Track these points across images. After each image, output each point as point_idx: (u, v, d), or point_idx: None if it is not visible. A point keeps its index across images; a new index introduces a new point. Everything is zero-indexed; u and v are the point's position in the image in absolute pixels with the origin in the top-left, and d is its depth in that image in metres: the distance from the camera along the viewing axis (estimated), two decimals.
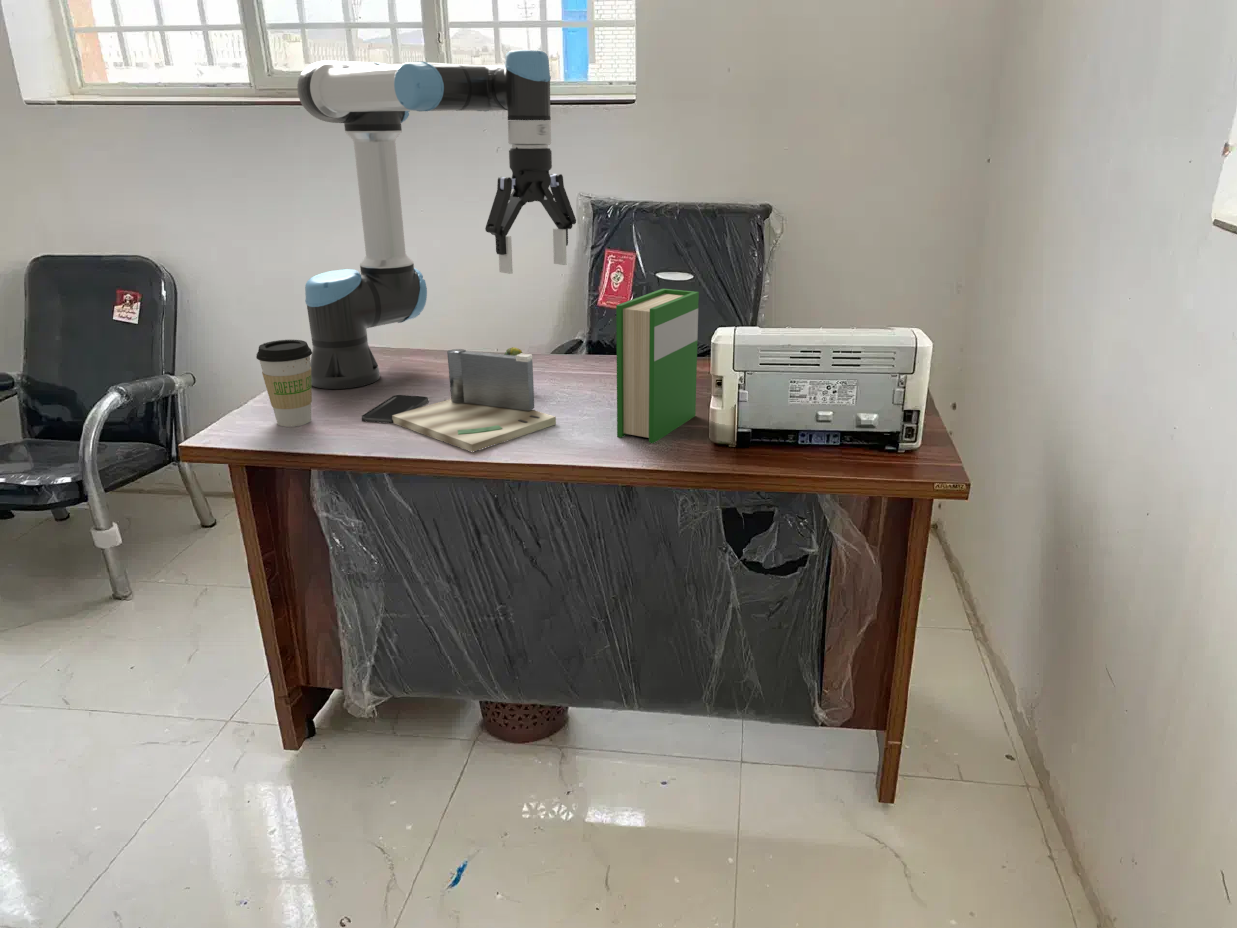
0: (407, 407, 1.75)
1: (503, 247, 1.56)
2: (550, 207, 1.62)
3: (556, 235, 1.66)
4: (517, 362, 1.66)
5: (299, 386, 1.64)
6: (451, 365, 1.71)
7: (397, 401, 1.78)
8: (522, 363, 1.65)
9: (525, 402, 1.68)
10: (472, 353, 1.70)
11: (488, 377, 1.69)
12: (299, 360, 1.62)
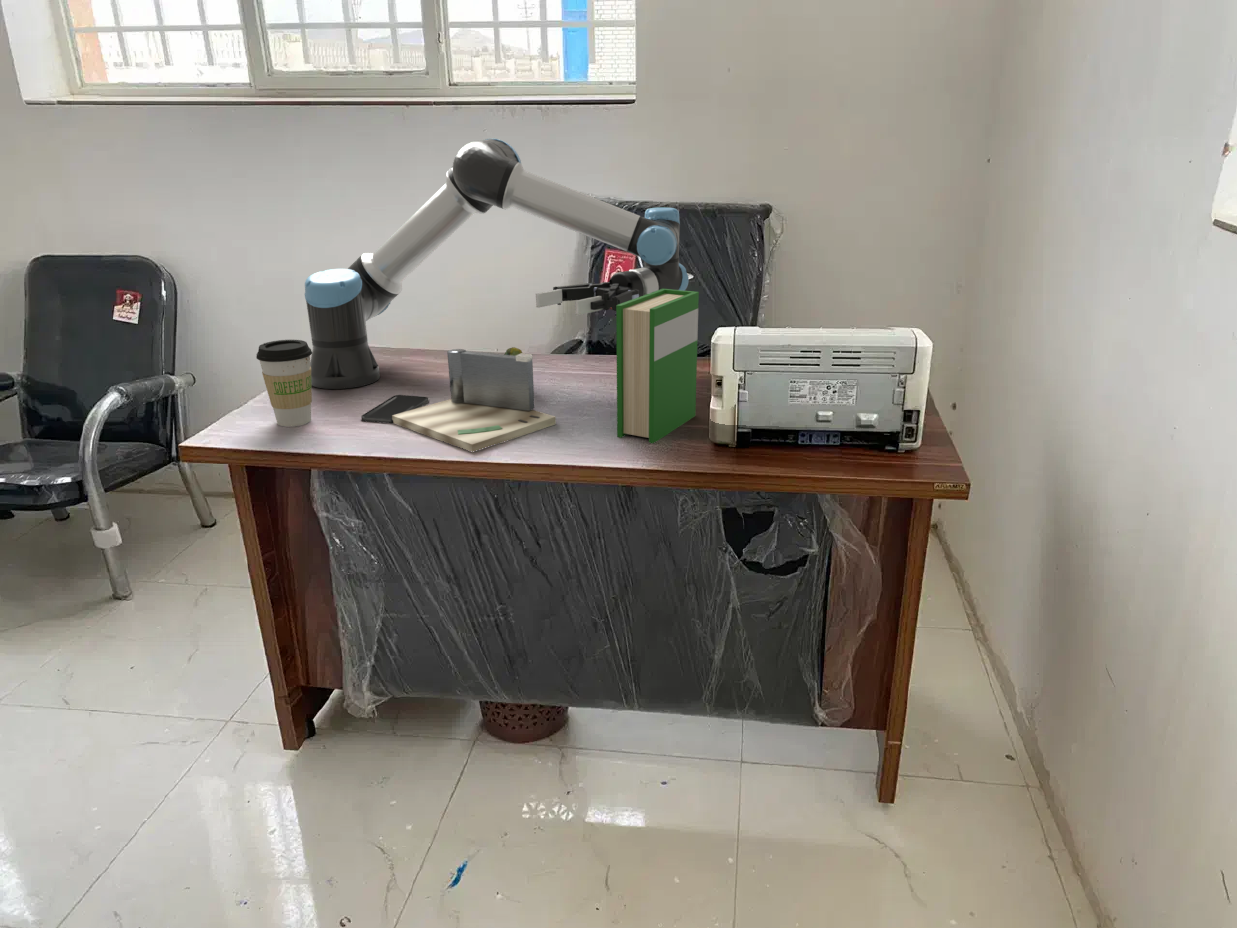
0: (407, 407, 1.75)
1: None
2: (584, 297, 1.81)
3: (557, 294, 1.78)
4: (517, 362, 1.66)
5: (299, 386, 1.64)
6: (451, 365, 1.71)
7: (397, 401, 1.78)
8: (522, 363, 1.65)
9: (525, 402, 1.68)
10: (472, 353, 1.70)
11: (488, 377, 1.69)
12: (299, 360, 1.62)
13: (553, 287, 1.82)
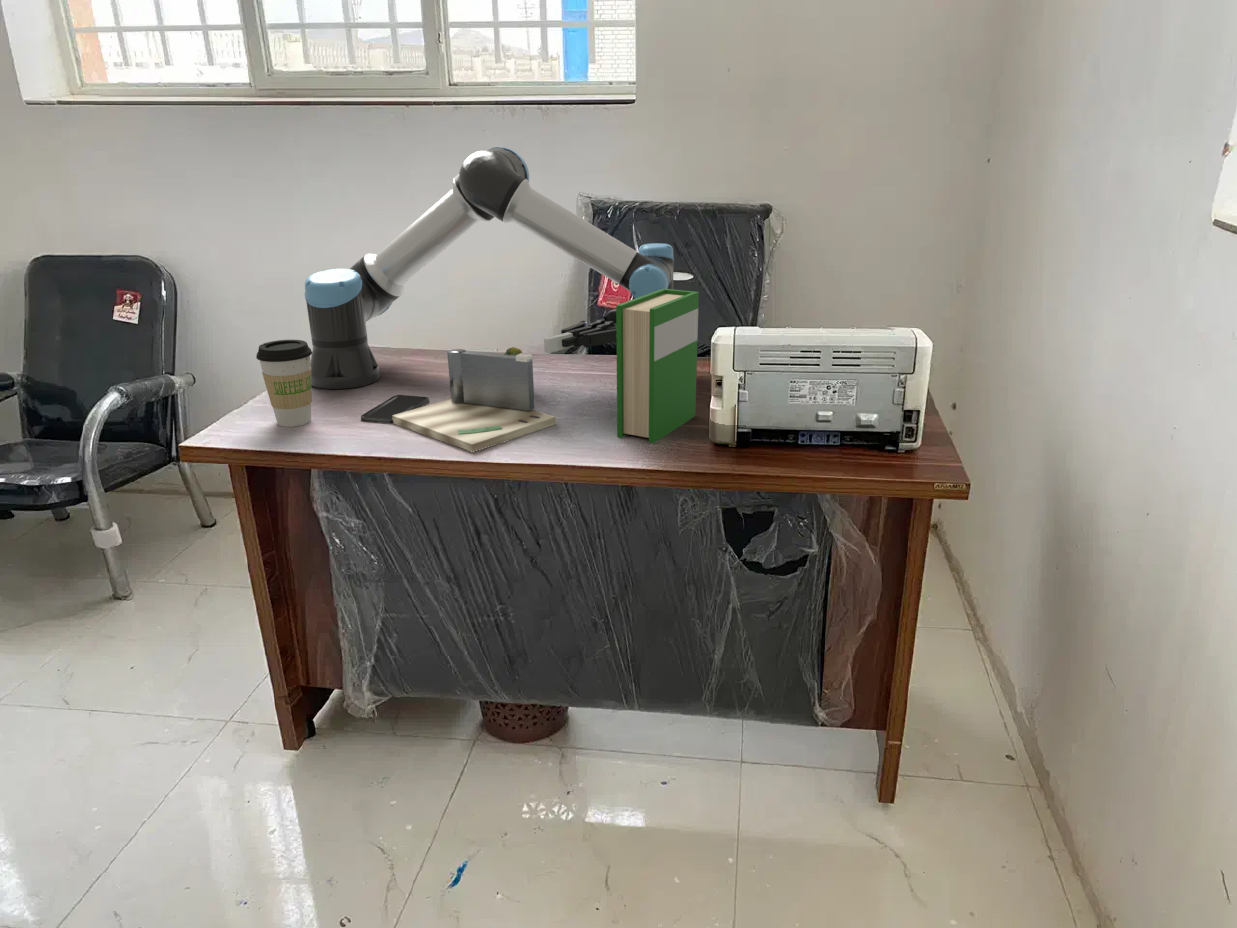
0: (407, 407, 1.75)
1: None
2: None
3: None
4: (517, 362, 1.66)
5: (299, 386, 1.64)
6: (451, 365, 1.71)
7: (397, 401, 1.78)
8: (522, 363, 1.65)
9: (525, 402, 1.68)
10: (472, 353, 1.70)
11: (488, 377, 1.69)
12: (299, 360, 1.62)
13: (561, 330, 1.78)
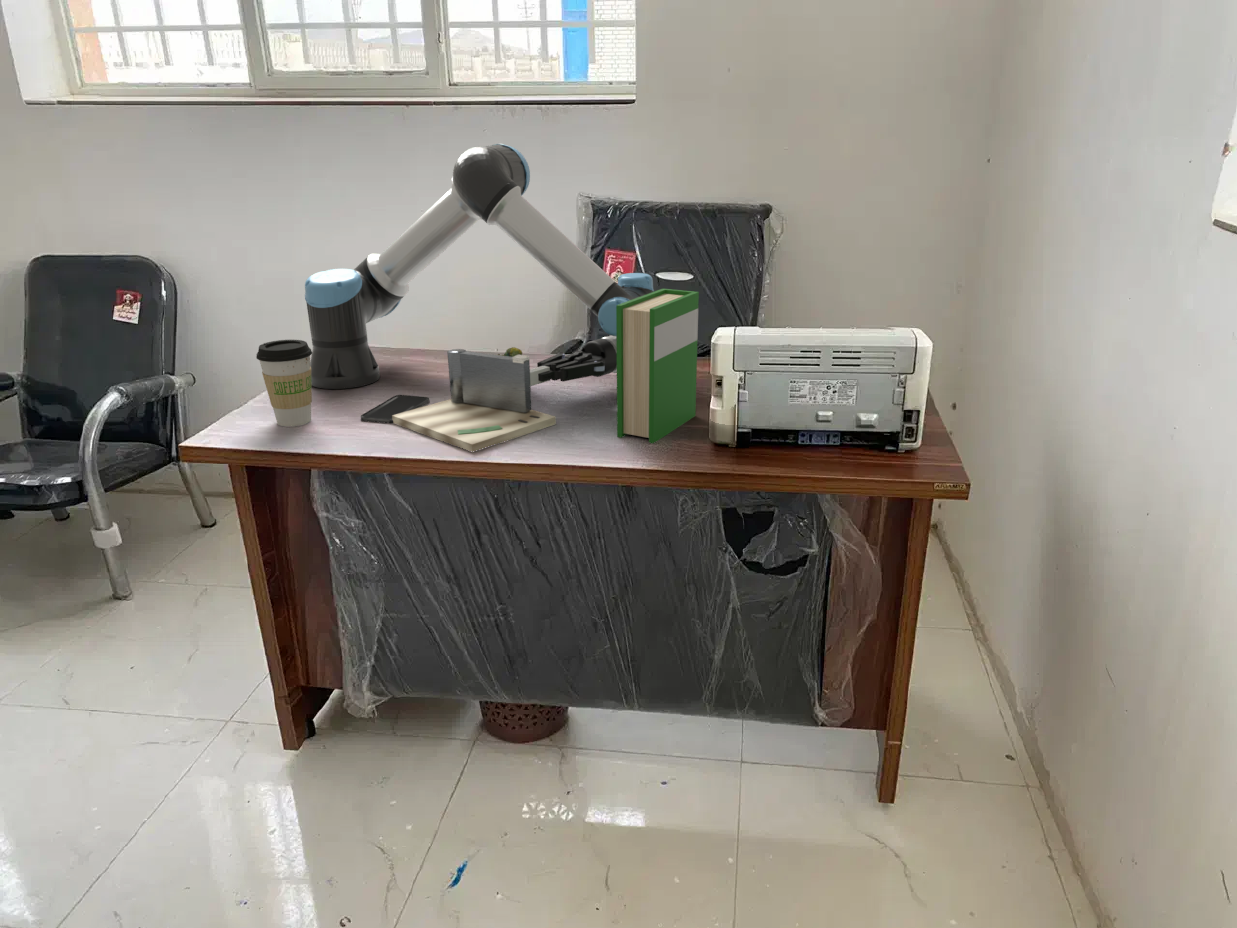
0: (407, 407, 1.75)
1: None
2: None
3: None
4: (514, 364, 1.65)
5: (299, 386, 1.64)
6: (451, 365, 1.71)
7: (398, 401, 1.78)
8: (518, 364, 1.64)
9: (522, 403, 1.67)
10: (471, 353, 1.69)
11: (486, 378, 1.69)
12: (299, 360, 1.62)
13: (537, 363, 1.75)
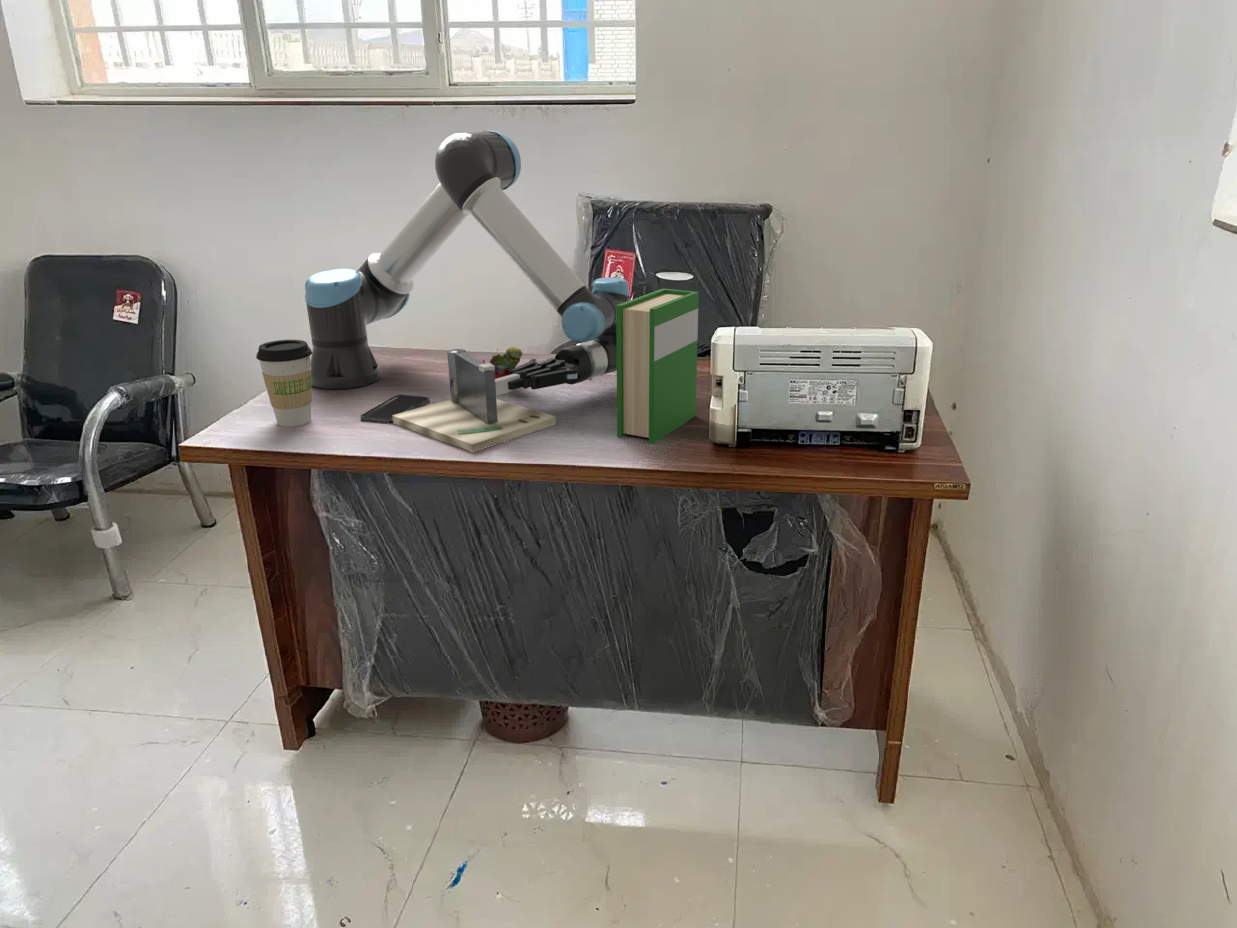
0: (407, 407, 1.75)
1: None
2: None
3: None
4: (479, 371, 1.60)
5: (299, 386, 1.64)
6: (448, 364, 1.71)
7: (398, 401, 1.78)
8: (481, 373, 1.59)
9: (485, 413, 1.62)
10: (461, 355, 1.68)
11: (467, 382, 1.66)
12: (299, 360, 1.62)
13: (509, 371, 1.70)
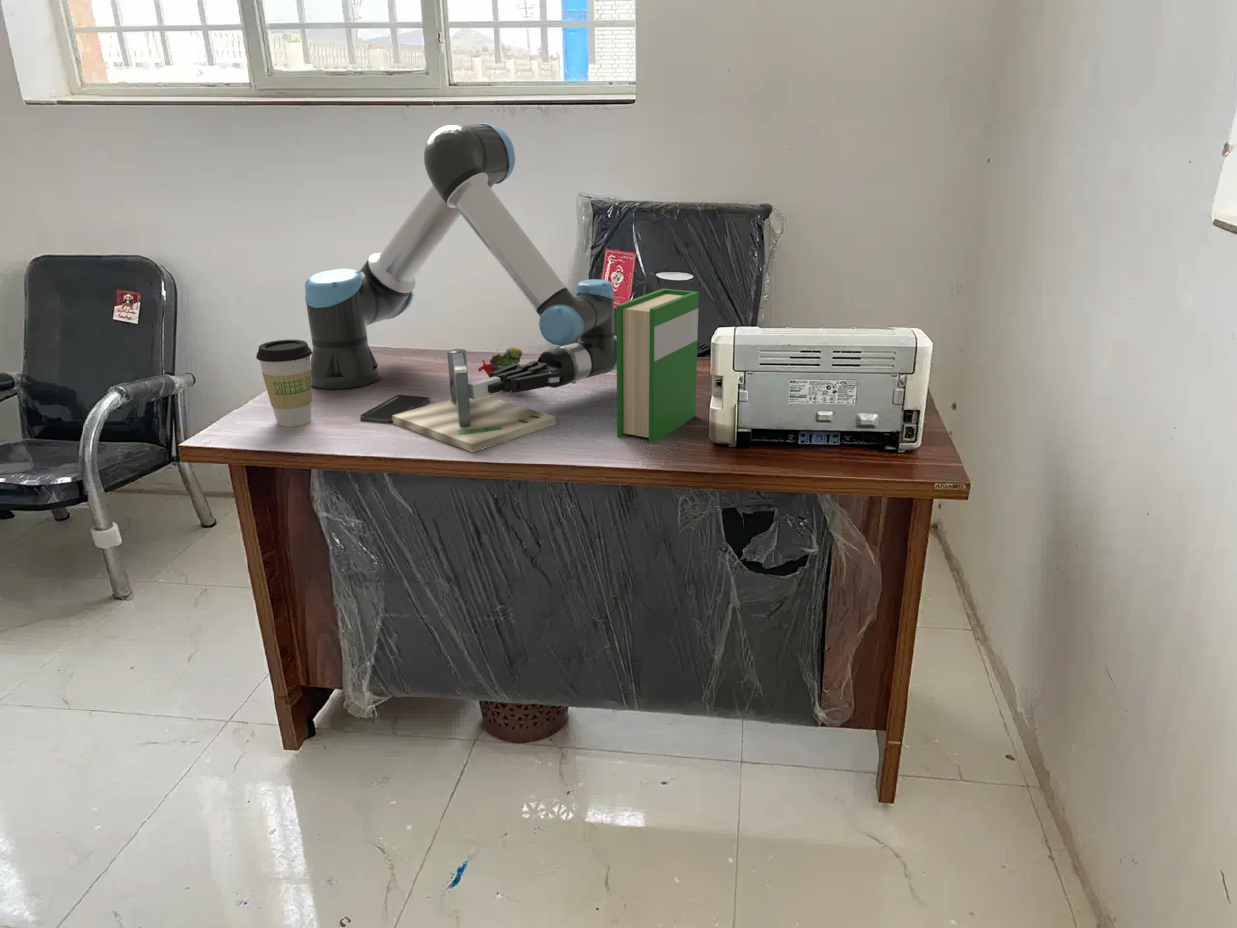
0: (407, 408, 1.75)
1: None
2: None
3: None
4: (455, 374, 1.59)
5: (299, 386, 1.64)
6: (448, 363, 1.72)
7: (398, 401, 1.78)
8: (455, 375, 1.58)
9: (458, 416, 1.60)
10: (455, 356, 1.68)
11: None
12: (299, 360, 1.62)
13: (489, 373, 1.68)
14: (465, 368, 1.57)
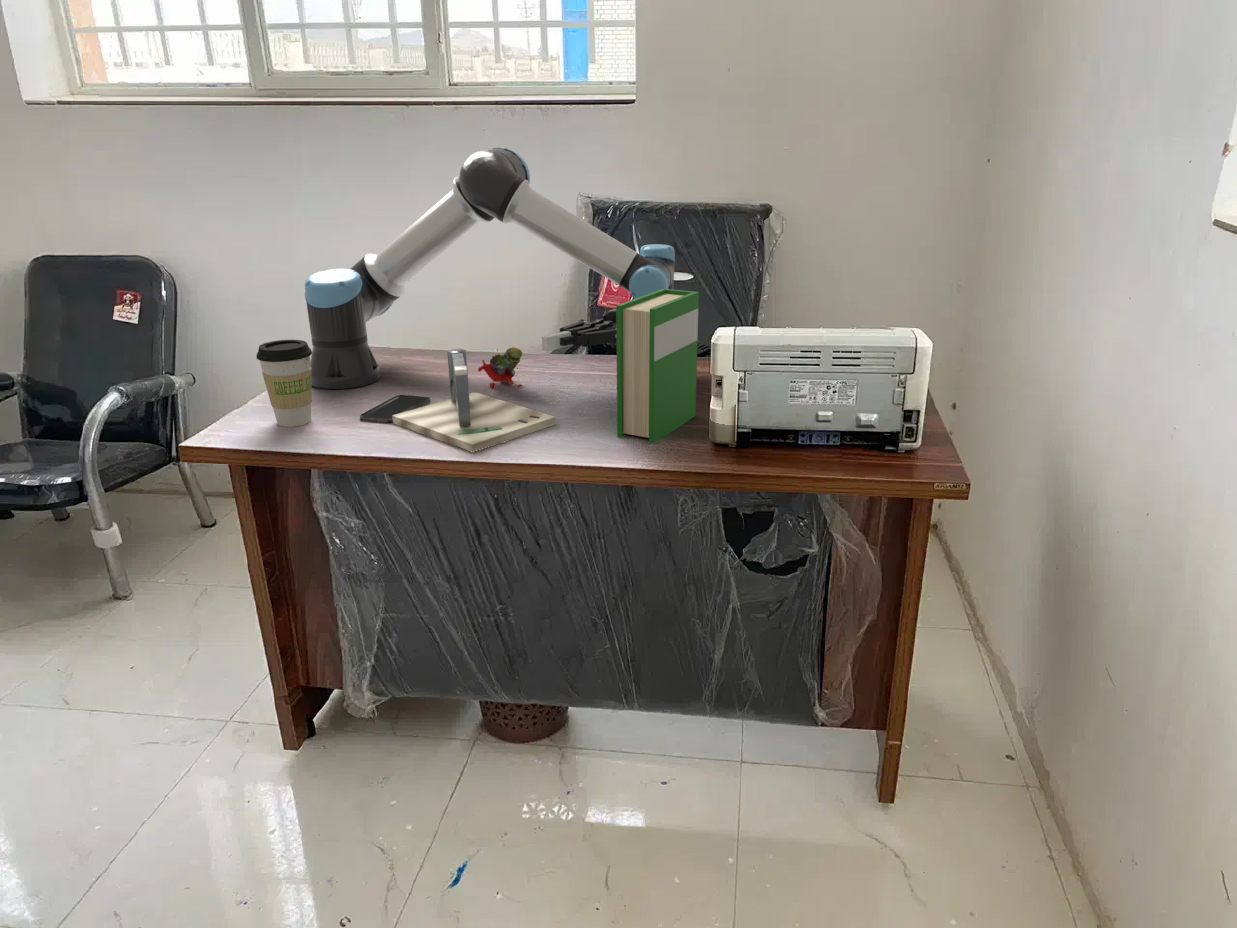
0: (407, 408, 1.75)
1: None
2: None
3: None
4: None
5: (299, 386, 1.64)
6: (448, 363, 1.72)
7: (398, 401, 1.78)
8: (455, 375, 1.58)
9: (458, 416, 1.60)
10: (455, 356, 1.68)
11: None
12: (299, 360, 1.62)
13: (560, 328, 1.78)
14: (465, 368, 1.57)
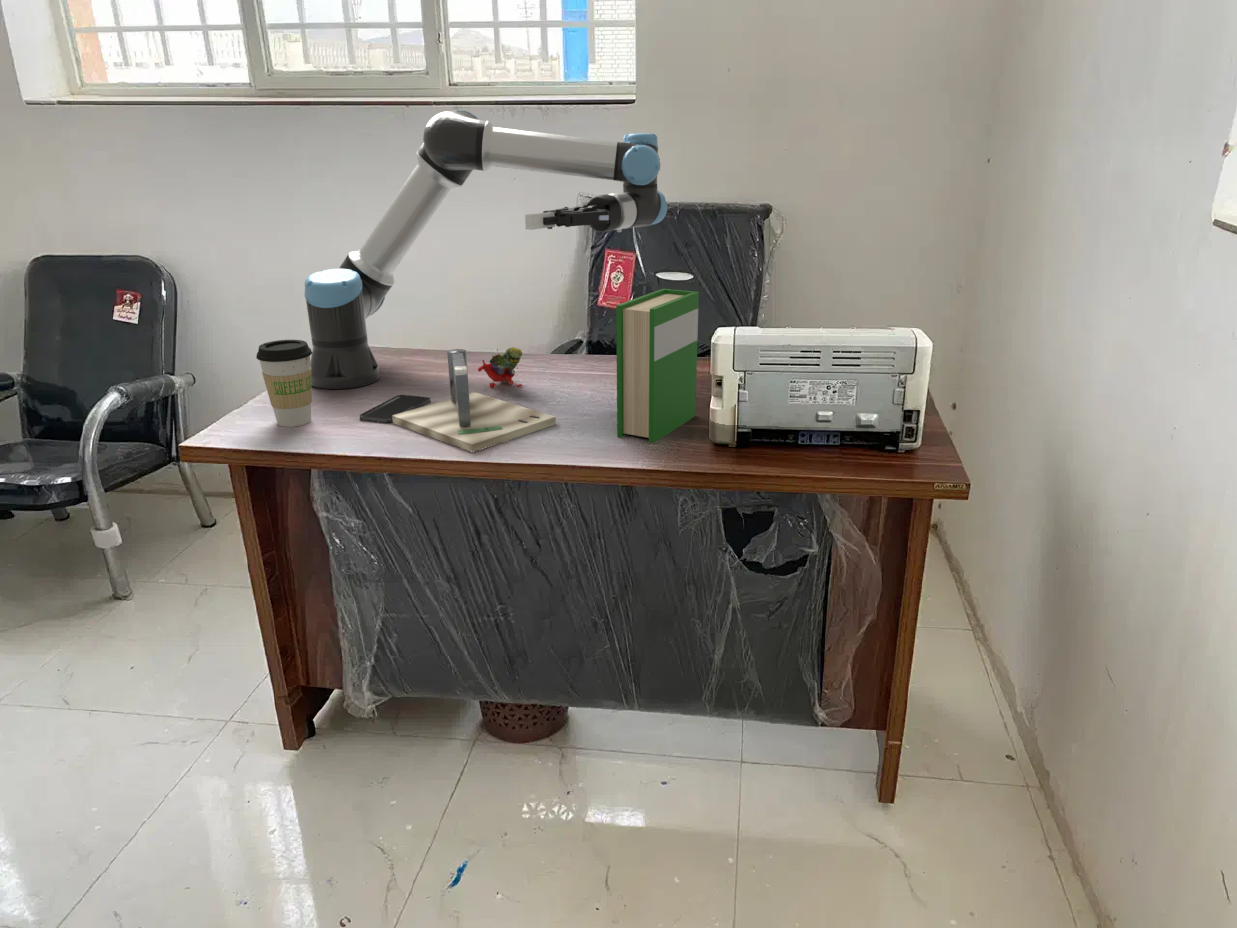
0: (407, 408, 1.74)
1: (549, 224, 1.74)
2: None
3: None
4: None
5: (299, 386, 1.64)
6: (448, 363, 1.72)
7: (399, 401, 1.78)
8: (455, 375, 1.58)
9: (458, 416, 1.60)
10: (455, 356, 1.68)
11: None
12: (299, 360, 1.62)
13: None
14: (465, 368, 1.57)
